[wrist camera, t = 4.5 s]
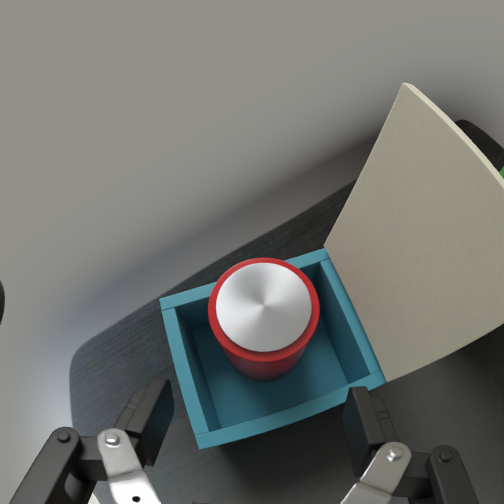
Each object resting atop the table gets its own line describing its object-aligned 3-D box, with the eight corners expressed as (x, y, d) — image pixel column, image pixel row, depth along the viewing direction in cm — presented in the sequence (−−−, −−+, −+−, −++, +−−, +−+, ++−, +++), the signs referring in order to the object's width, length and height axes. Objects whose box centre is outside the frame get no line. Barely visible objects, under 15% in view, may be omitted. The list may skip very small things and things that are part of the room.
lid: (561, 282, 6) (565, 277, 6) (402, 82, 12) (412, 84, 12) (386, 382, 17) (394, 378, 18) (323, 245, 23) (331, 243, 23)
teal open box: (215, 441, 22) (199, 449, 16) (182, 326, 28) (159, 298, 22) (359, 391, 24) (388, 381, 18) (313, 285, 29) (326, 247, 23)
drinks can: (240, 392, 24) (225, 376, 15) (218, 325, 27) (195, 273, 18) (311, 367, 24) (338, 337, 16) (285, 303, 27) (295, 242, 19)
